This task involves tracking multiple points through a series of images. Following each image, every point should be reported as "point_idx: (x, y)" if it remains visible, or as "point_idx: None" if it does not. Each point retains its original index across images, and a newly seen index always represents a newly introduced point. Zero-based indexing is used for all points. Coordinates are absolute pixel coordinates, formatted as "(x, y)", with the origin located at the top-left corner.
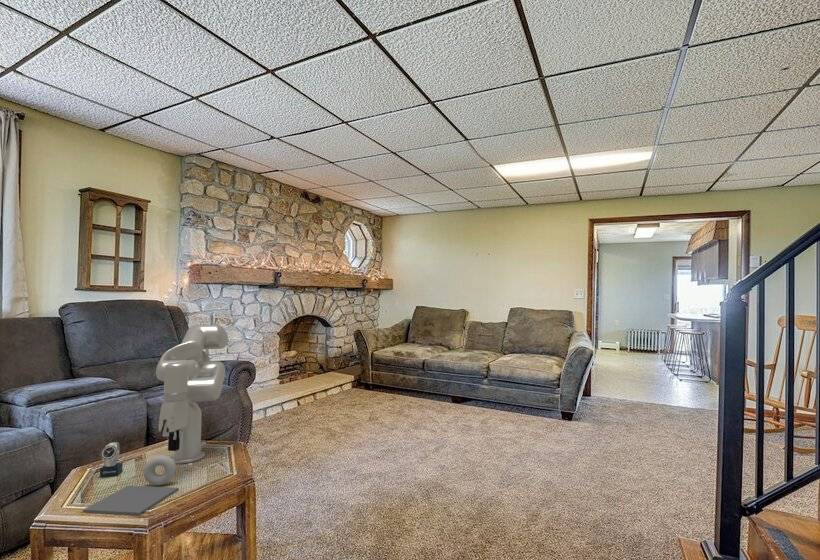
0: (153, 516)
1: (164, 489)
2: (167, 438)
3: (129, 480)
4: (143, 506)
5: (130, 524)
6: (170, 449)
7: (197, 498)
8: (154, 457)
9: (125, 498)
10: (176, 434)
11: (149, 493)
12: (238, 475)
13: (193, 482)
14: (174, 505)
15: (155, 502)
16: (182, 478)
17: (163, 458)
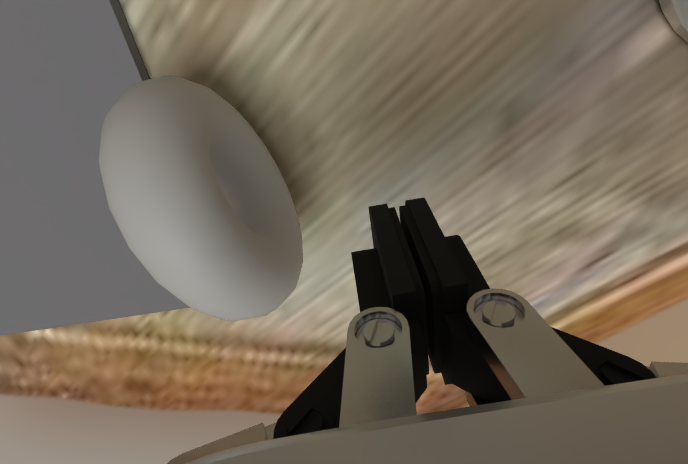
0: (17, 373)
1: None
2: (347, 335)
3: None
4: (7, 313)
5: None
6: (374, 237)
7: (209, 396)
8: (136, 244)
9: None
10: (493, 387)
11: (106, 226)
12: (450, 390)
13: (337, 289)
14: (122, 372)
15: (67, 325)
16: (371, 201)
17: (190, 305)
